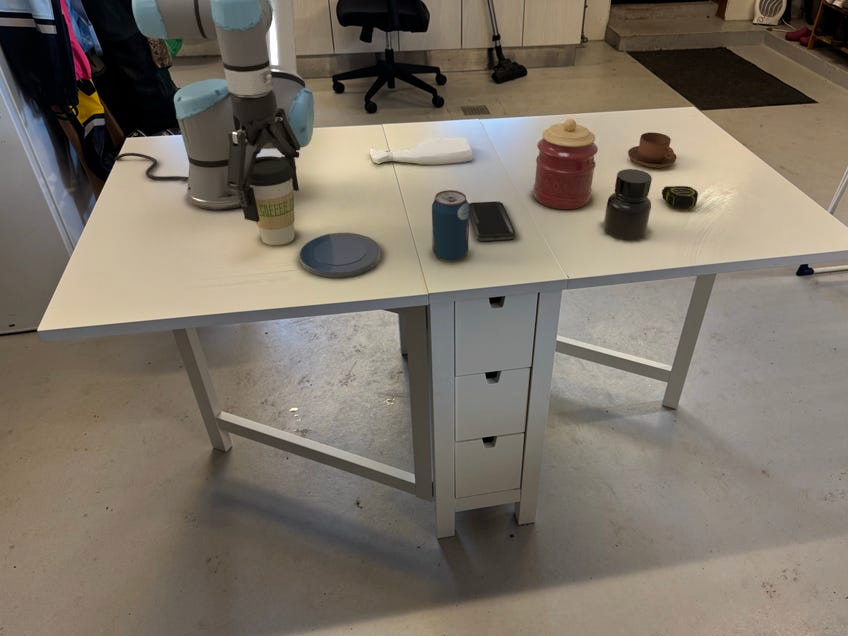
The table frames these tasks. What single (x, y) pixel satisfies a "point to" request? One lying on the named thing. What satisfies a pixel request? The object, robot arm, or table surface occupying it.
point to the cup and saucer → (653, 151)
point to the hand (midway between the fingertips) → (273, 204)
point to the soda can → (450, 225)
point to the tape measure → (680, 196)
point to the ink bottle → (629, 205)
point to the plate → (340, 255)
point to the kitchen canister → (565, 166)
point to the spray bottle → (429, 152)
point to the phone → (490, 221)
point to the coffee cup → (274, 199)
